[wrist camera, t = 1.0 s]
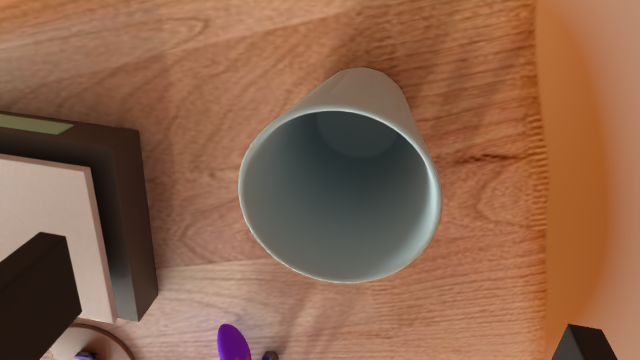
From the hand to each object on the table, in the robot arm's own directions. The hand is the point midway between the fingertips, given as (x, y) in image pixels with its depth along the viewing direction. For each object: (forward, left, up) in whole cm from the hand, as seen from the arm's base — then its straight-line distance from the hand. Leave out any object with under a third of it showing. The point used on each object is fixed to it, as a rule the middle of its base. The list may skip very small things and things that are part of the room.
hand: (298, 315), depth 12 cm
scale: (+10, -21, -16) cm, 28 cm away
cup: (0, 0, -16) cm, 16 cm away
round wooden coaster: (+26, -21, -16) cm, 37 cm away
